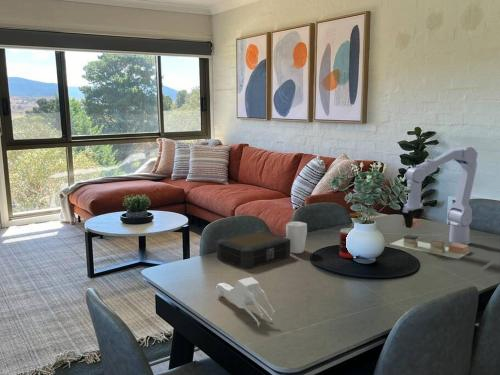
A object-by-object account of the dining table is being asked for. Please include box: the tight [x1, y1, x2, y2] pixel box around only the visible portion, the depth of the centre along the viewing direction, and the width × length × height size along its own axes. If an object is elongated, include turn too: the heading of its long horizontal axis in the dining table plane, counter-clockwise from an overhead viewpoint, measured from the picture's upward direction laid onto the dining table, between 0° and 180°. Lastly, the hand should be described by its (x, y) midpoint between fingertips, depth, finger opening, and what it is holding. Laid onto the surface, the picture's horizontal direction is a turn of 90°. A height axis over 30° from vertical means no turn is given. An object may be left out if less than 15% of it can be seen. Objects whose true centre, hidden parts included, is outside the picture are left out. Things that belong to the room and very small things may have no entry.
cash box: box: [216, 230, 291, 270], centre depth 195 cm, size 25×20×8 cm
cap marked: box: [402, 218, 423, 229], centre depth 206 cm, size 6×6×3 cm
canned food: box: [339, 227, 354, 259], centre depth 196 cm, size 8×8×11 cm
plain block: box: [430, 239, 446, 255], centre depth 199 cm, size 4×4×4 cm
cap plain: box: [448, 242, 469, 254], centre depth 200 cm, size 6×6×3 cm
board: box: [390, 237, 471, 260], centre depth 205 cm, size 13×30×1 cm, turn 45°
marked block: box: [403, 234, 419, 249], centre depth 207 cm, size 4×4×4 cm
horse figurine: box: [215, 276, 276, 327], centre depth 144 cm, size 5×16×25 cm
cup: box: [285, 221, 308, 254], centre depth 203 cm, size 9×9×12 cm
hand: (412, 226), depth 206 cm, fingers closed on cap marked, 6 cm apart
